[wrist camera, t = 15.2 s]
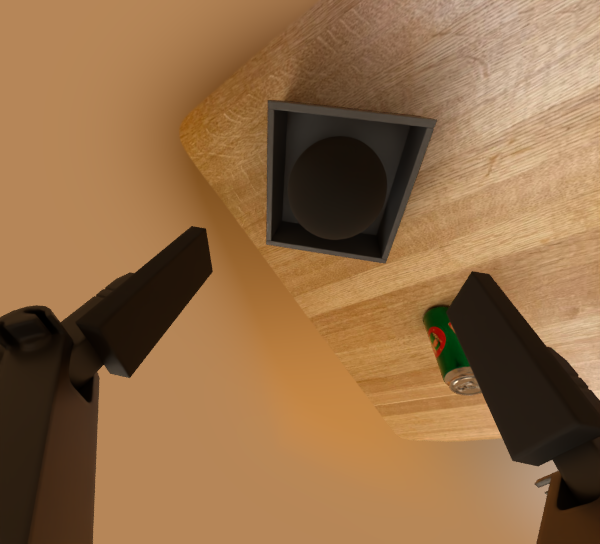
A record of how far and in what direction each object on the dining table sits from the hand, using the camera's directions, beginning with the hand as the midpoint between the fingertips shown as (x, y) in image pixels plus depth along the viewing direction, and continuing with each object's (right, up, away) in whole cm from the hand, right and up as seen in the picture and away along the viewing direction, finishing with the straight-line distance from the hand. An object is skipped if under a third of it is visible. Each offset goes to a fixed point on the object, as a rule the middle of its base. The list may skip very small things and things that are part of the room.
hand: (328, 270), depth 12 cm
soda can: (+21, -7, +27) cm, 35 cm away
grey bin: (+3, +11, +17) cm, 21 cm away
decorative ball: (+3, +11, +17) cm, 21 cm away
